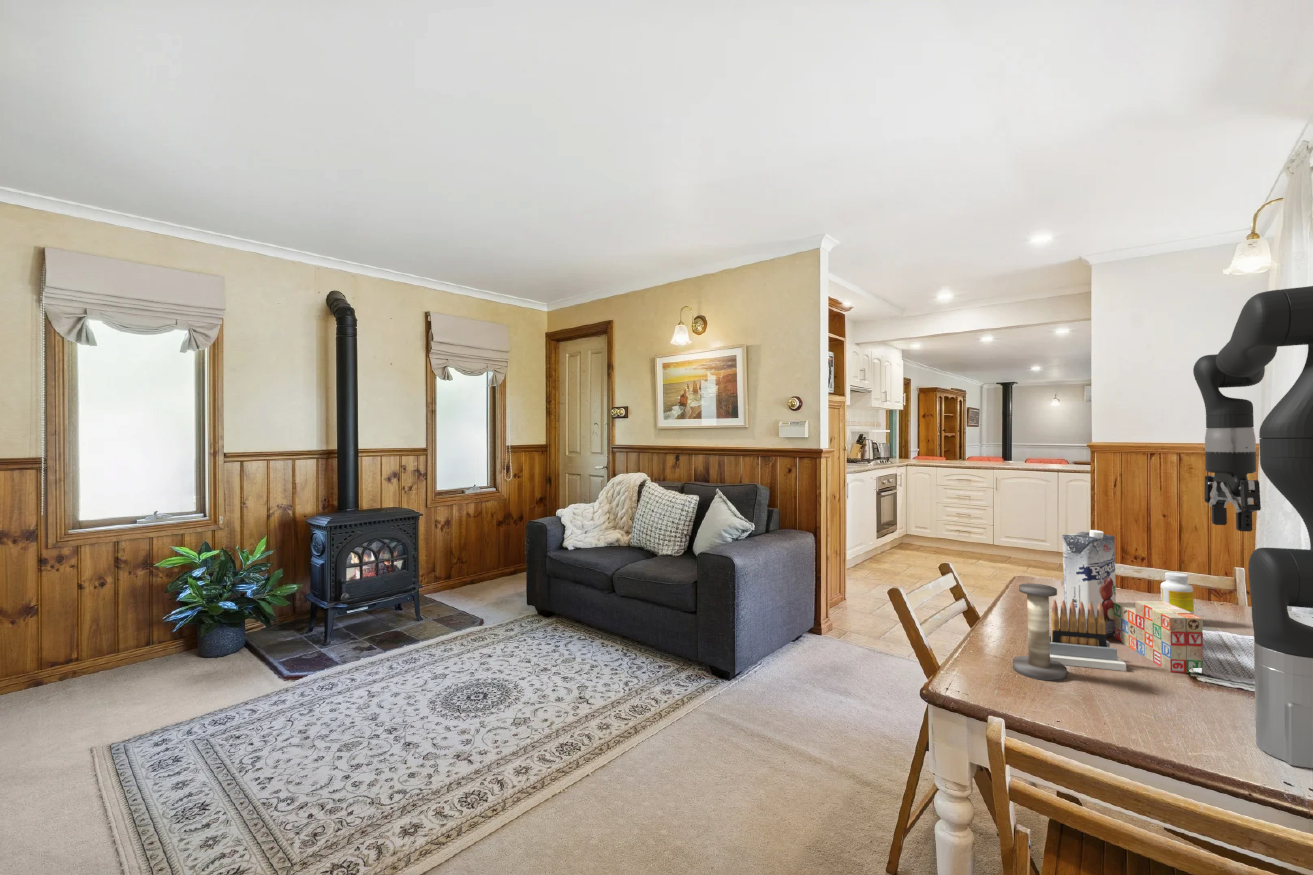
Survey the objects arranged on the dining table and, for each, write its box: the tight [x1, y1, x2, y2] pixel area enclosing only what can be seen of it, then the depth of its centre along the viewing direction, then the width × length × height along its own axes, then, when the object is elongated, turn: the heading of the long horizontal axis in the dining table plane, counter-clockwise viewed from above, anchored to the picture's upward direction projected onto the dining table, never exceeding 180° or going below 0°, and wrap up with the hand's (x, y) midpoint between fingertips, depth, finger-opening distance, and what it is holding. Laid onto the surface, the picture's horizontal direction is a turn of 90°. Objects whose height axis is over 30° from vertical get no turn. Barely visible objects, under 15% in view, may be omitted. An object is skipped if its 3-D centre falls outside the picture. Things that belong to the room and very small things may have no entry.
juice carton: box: [1061, 529, 1117, 638], centre depth 150 cm, size 9×10×27 cm
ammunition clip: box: [1050, 599, 1107, 647], centre depth 134 cm, size 11×2×12 cm, turn 69°
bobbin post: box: [1012, 582, 1068, 682], centre depth 128 cm, size 10×10×18 cm
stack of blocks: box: [1113, 600, 1204, 674], centre depth 136 cm, size 21×6×12 cm, turn 169°
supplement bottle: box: [1160, 571, 1195, 615], centre depth 158 cm, size 7×7×13 cm
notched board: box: [1050, 640, 1127, 672], centre depth 134 cm, size 9×15×4 cm, turn 69°
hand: (1231, 527), depth 120 cm, fingers open, 8 cm apart
